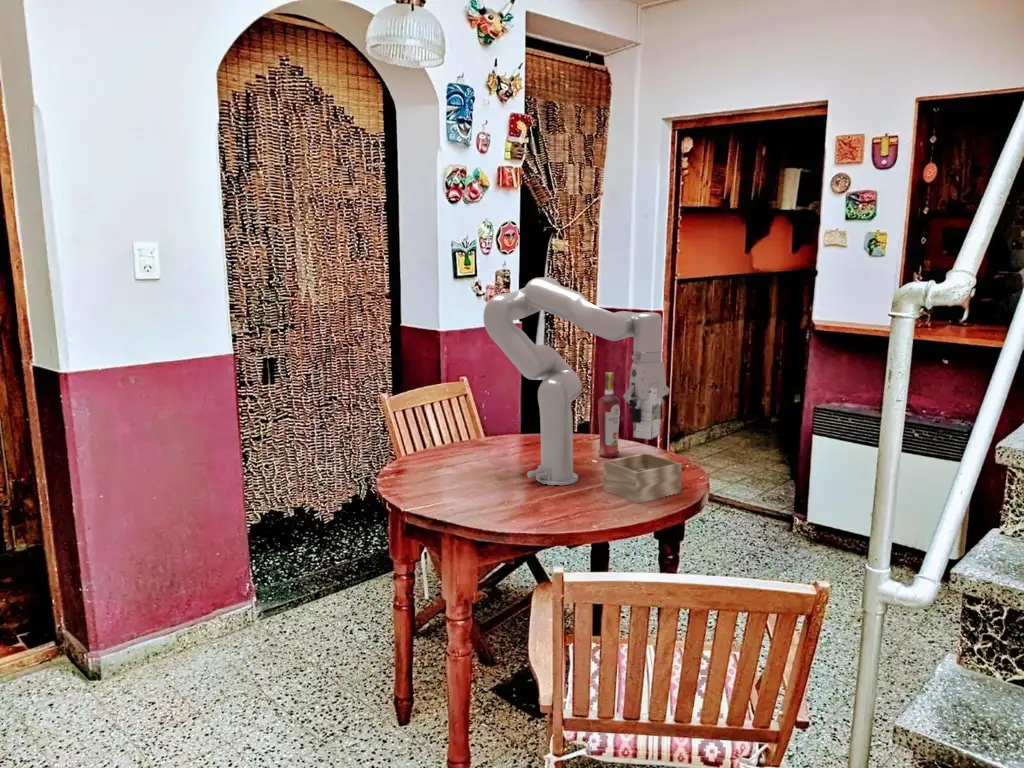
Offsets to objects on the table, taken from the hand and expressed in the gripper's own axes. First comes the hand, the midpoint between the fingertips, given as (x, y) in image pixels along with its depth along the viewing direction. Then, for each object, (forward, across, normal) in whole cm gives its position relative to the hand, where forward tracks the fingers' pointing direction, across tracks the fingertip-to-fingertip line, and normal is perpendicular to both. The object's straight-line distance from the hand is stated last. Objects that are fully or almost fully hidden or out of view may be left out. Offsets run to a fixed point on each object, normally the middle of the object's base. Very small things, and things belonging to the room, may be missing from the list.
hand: (646, 419), depth 209 cm
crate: (+20, -2, -1) cm, 20 cm away
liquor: (+20, +15, +34) cm, 43 cm away
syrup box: (+5, 0, 0) cm, 5 cm away
